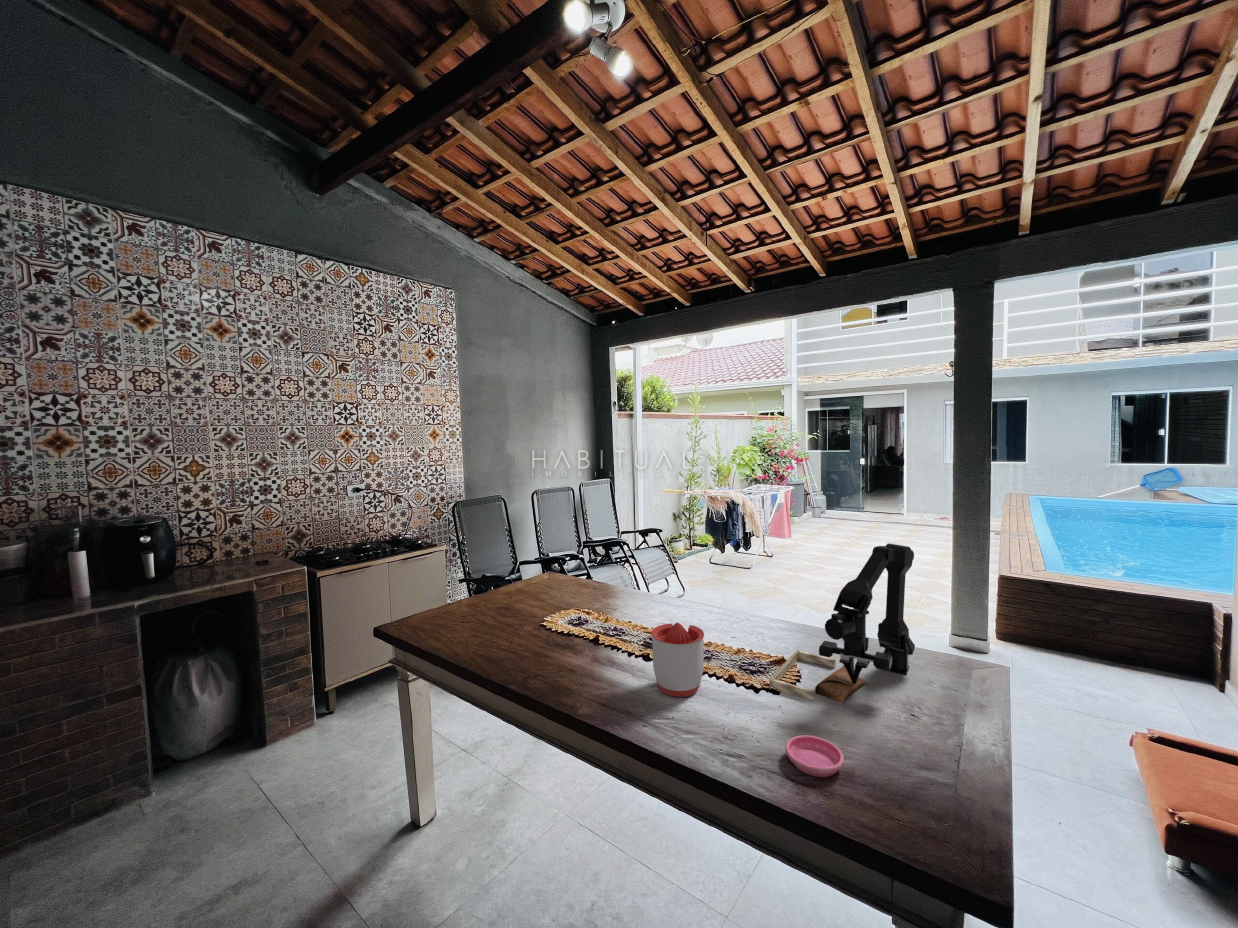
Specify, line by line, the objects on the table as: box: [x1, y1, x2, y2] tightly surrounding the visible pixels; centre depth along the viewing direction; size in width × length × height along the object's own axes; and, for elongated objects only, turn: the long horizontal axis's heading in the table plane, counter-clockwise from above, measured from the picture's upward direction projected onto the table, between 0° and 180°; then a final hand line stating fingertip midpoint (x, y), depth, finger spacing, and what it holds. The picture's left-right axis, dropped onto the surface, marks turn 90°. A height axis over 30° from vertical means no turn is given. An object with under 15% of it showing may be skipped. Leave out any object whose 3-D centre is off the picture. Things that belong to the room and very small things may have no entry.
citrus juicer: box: [651, 622, 705, 698], centre depth 151 cm, size 16×17×20 cm
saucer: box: [784, 734, 845, 778], centre depth 115 cm, size 12×12×3 cm
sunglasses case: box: [814, 665, 869, 704], centre depth 149 cm, size 18×7×7 cm, turn 133°
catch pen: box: [769, 649, 837, 701], centre depth 155 cm, size 12×25×2 cm, turn 143°
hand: (854, 683), depth 147 cm, fingers closed
